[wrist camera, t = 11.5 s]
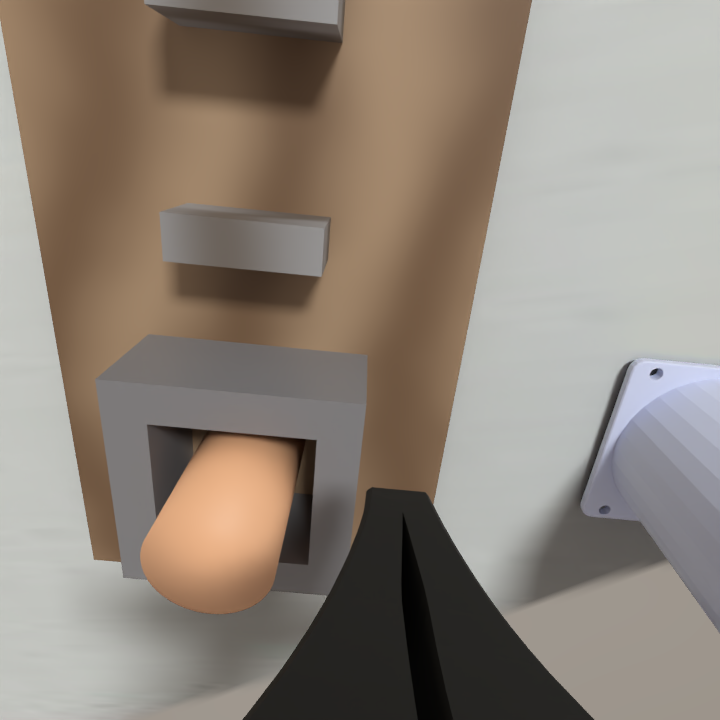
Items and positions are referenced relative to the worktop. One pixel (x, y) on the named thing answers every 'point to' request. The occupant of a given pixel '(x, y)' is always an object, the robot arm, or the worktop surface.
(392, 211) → the dock board
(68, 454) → the worktop surface
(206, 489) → the peg
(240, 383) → the socket
